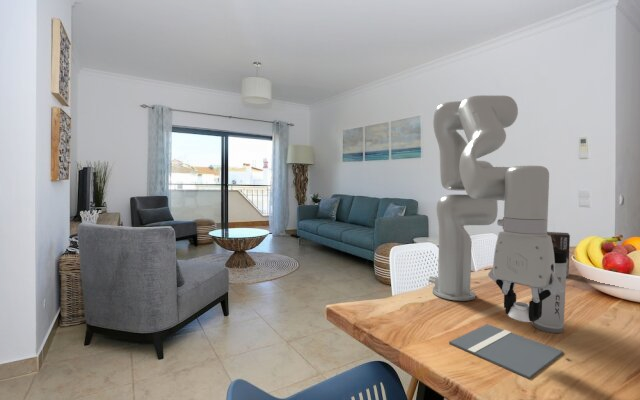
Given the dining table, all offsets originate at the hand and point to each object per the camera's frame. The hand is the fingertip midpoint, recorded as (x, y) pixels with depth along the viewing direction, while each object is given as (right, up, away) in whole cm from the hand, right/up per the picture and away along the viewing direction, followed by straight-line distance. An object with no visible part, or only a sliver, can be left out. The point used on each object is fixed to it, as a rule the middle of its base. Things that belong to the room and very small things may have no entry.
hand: (522, 315), depth 67 cm
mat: (-2, -8, +3) cm, 9 cm away
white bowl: (0, -1, 0) cm, 1 cm away
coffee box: (+51, -6, +63) cm, 81 cm away
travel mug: (+14, -8, +13) cm, 21 cm away
